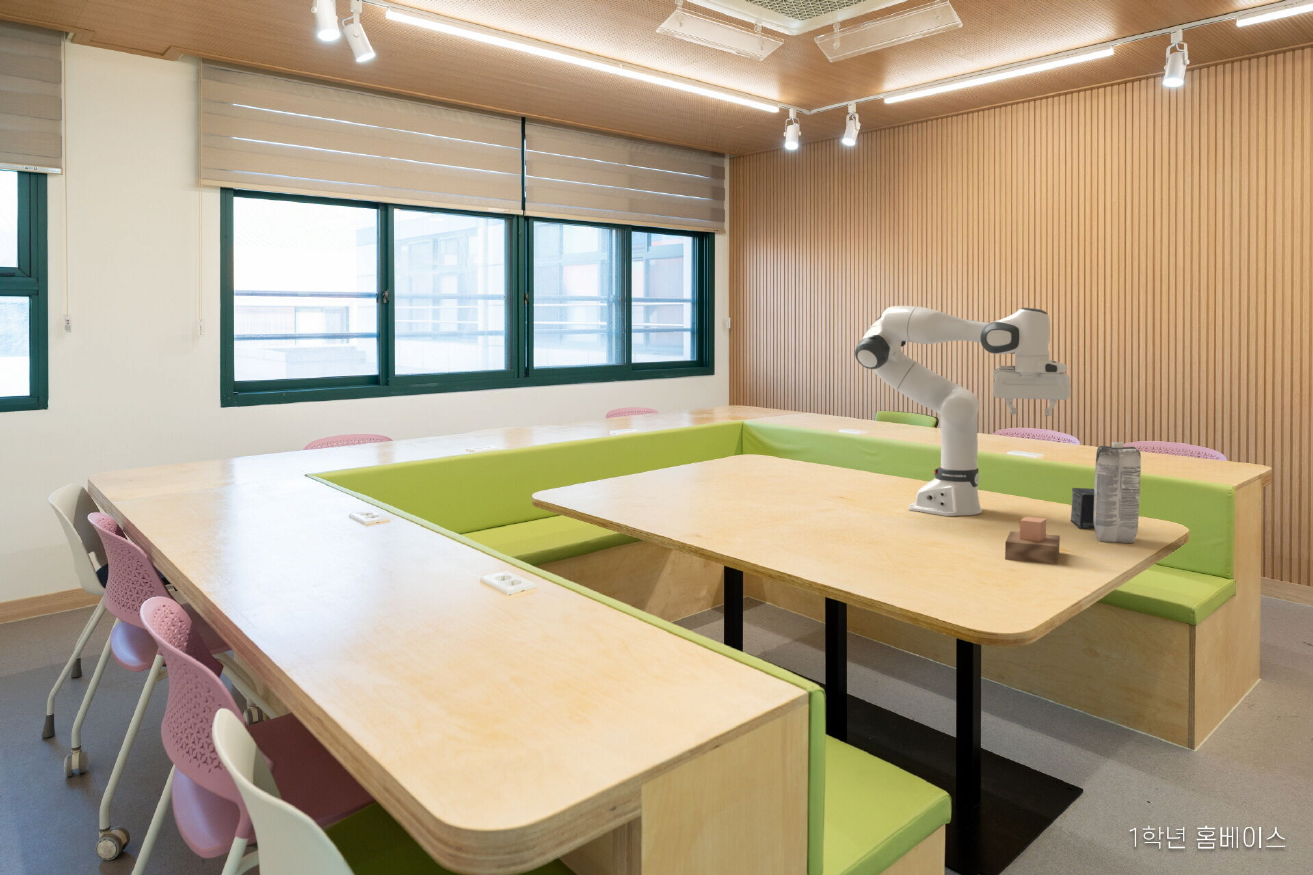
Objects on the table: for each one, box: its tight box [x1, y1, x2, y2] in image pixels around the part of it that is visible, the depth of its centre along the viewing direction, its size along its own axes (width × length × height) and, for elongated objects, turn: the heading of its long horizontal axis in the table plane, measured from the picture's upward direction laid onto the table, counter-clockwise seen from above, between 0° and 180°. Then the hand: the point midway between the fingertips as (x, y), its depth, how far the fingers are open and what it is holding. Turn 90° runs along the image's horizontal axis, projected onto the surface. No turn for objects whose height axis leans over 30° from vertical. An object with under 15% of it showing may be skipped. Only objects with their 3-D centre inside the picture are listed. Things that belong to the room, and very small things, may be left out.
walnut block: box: [1004, 531, 1061, 565], centre depth 223 cm, size 12×12×5 cm
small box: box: [1070, 487, 1095, 530], centre depth 254 cm, size 11×6×10 cm, turn 168°
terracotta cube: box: [1019, 516, 1047, 542], centre depth 223 cm, size 5×5×5 cm
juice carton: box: [1093, 441, 1142, 544], centre depth 236 cm, size 9×10×27 cm
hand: (1030, 414), depth 244 cm, fingers open, 8 cm apart
